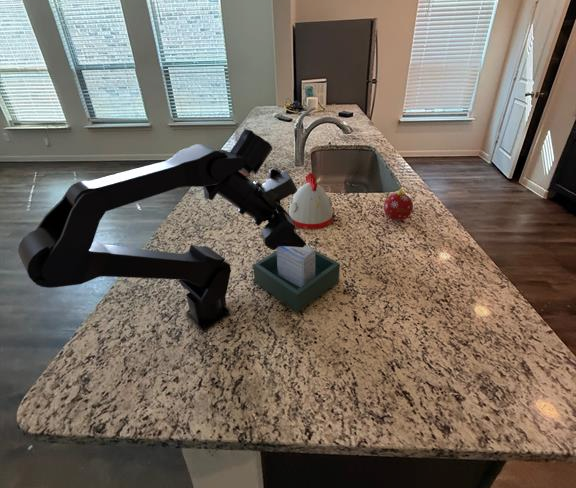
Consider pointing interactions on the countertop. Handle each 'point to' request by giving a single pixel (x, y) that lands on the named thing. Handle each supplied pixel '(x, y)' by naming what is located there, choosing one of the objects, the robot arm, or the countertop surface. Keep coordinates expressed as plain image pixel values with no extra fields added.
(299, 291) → the open square tray
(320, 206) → the white chicken figure
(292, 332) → the countertop surface
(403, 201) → the christmas ornament
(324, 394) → the countertop surface
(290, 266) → the medicine box
